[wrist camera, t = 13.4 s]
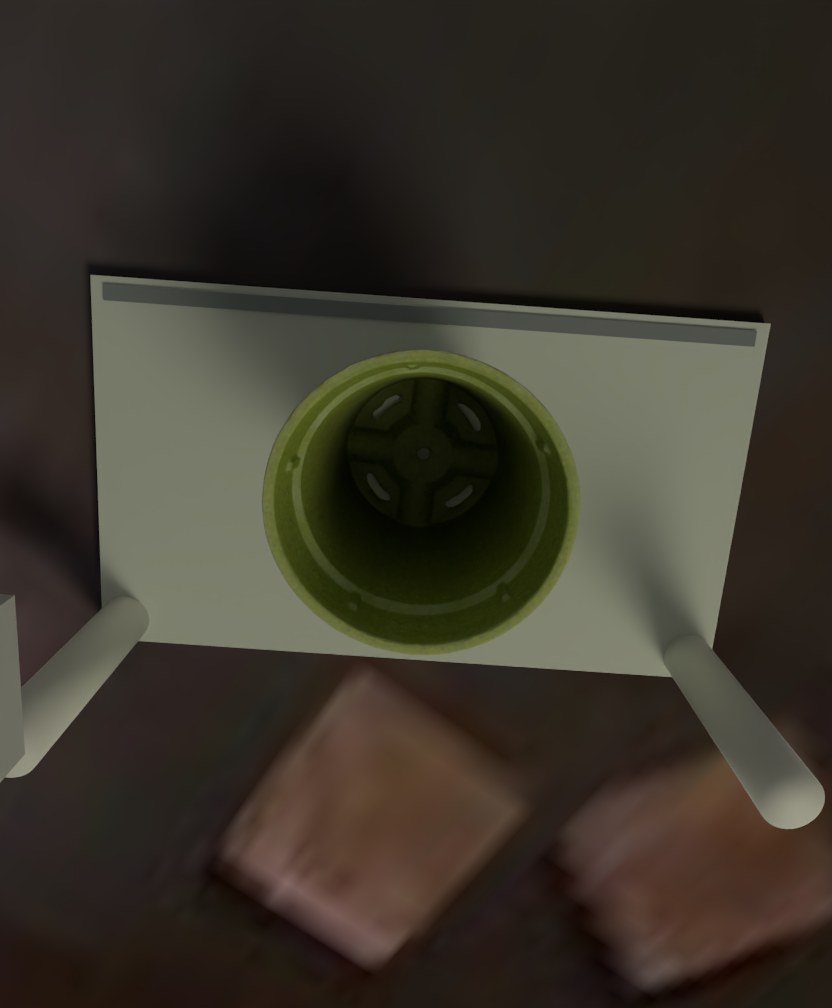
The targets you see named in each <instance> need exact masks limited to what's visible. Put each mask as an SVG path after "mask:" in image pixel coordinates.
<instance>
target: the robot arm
mask: <svg viewBox="0 0 832 1008" xmlns="http://www.w3.org/2000/svg"><path fill="white" fill-rule="evenodd" d="M24 755H25V745H24V730H23V715H22V700H21V684H20V669H19V654H18V639H17V624H16V609H15V595H2V594H0V782H1V781H2V780H3V779H4V777H5V776H6V775H7V774H8V773H9V772H10V771H11V770H12V768H13V767H14V766H15V765H16V764H17V763H18V762H19V760H20V759H21V758H22V757H23V756H24Z"/></svg>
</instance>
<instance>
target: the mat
mask: <svg viewBox="0 0 832 1008" xmlns="http://www.w3.org/2000/svg"><path fill="white" fill-rule="evenodd" d="M90 277H91V306H92V335H93V365H94V394H95V423H96V452H97V481H98V511H99V540H100V569H101V598H102V609H101V610H100V611H99V612H98V613H97V614H96V615H95V616H94V617H93V618H92V619H91V620H89V621H88V622H87V623H86V624H85V625H84V626H83V627H82V628H81V629H80V630H79V631H78V632H77V633H76V634H75V635H74V636H73V637H72V638H71V639H70V640H69V641H68V642H67V643H66V644H65V645H64V646H63V647H62V648H61V649H60V650H59V651H58V652H57V653H56V654H55V655H54V656H53V657H52V658H51V659H50V660H49V661H48V662H47V663H46V664H45V665H44V666H43V667H42V668H41V669H40V670H39V671H38V672H37V673H36V674H35V675H34V676H33V677H32V678H31V679H29V680H28V681H27V682H26V683H25V684H24V685H23V686H22V687H21V700H22V715H23V730H24V745H25V755H24V756H23V757H22V758H21V759H20V760H19V762H18V763H17V764H16V765H15V766H14V767H13V768H12V770H11V771H10V772H9V773H8V774H7V775H6V776H5V777H8V778H14V777H20V776H23V775H26V774H27V773H29V772H30V771H32V770H33V769H34V768H35V766H36V765H37V764H38V763H39V761H40V760H41V759H42V758H43V757H44V755H45V754H46V753H47V752H48V750H49V749H50V748H51V747H52V746H53V744H54V743H55V742H56V741H57V739H58V738H59V737H60V736H61V735H62V733H63V732H64V731H65V730H66V728H67V727H68V726H69V725H70V724H71V722H72V721H73V720H74V719H75V717H76V716H77V715H78V714H79V713H80V711H81V710H82V709H83V708H84V706H85V705H86V704H87V703H88V702H89V700H90V699H91V698H92V697H93V695H94V694H95V693H96V692H97V691H98V689H99V688H100V687H101V686H102V684H103V683H104V682H105V681H106V680H107V678H108V677H109V676H110V675H111V673H112V672H113V671H114V670H115V669H116V667H117V666H118V665H119V664H120V662H121V661H122V660H123V659H124V658H125V656H126V655H127V654H128V653H129V651H130V650H131V649H132V648H133V647H134V645H135V644H136V643H137V642H138V641H147V642H162V643H177V644H192V645H206V646H221V647H236V648H251V649H265V650H280V651H295V652H310V653H325V654H339V655H354V656H369V657H384V658H398V659H413V660H428V661H443V662H457V663H472V664H487V665H502V666H516V667H531V668H546V669H561V670H576V671H590V672H605V673H620V674H635V675H649V676H664V677H673V679H674V680H675V682H676V683H677V685H678V687H679V688H680V690H681V691H682V693H683V694H684V696H685V697H686V699H687V700H688V702H689V704H690V705H691V707H692V708H693V710H694V711H695V713H696V714H697V716H698V717H699V719H700V721H701V722H702V724H703V725H704V727H705V728H706V730H707V731H708V733H709V734H710V736H711V738H712V739H713V741H714V742H715V744H716V745H717V747H718V748H719V750H720V751H721V753H722V755H723V756H724V758H725V759H726V761H727V762H728V764H729V765H730V767H731V768H732V770H733V772H734V773H735V775H736V776H737V778H738V779H739V781H740V782H741V784H742V785H743V787H744V789H745V790H746V792H747V793H748V795H749V796H750V798H751V799H752V801H753V802H754V804H755V806H756V807H757V809H758V810H759V812H760V813H761V815H762V816H763V818H764V819H765V820H766V821H767V822H768V823H770V824H771V825H773V826H775V827H778V828H783V829H794V828H799V827H802V826H804V825H806V824H808V823H810V822H811V821H812V820H814V819H815V818H816V817H817V816H818V814H819V813H820V812H821V810H822V808H823V805H824V801H825V794H824V790H823V787H822V785H821V784H820V782H819V781H818V780H817V779H816V778H815V776H814V775H813V774H812V773H811V771H810V770H809V769H808V768H807V766H806V765H805V764H804V763H803V761H802V760H801V759H800V758H799V756H798V755H797V754H796V753H795V752H794V750H793V749H792V748H791V747H790V745H789V744H788V743H787V742H786V740H785V739H784V738H783V737H782V735H781V734H780V733H779V732H778V730H777V729H776V728H775V727H774V726H773V724H772V723H771V722H770V721H769V719H768V718H767V717H766V716H765V714H764V713H763V712H762V711H761V709H760V708H759V707H758V706H757V705H756V703H755V702H754V701H753V700H752V698H751V697H750V696H749V695H748V693H747V692H746V691H745V690H744V688H743V687H742V686H741V685H740V683H739V682H738V681H737V680H736V679H735V677H734V676H733V675H732V674H731V672H730V671H729V670H728V669H727V667H726V666H725V665H724V664H723V662H722V661H721V660H720V659H719V658H718V656H717V655H716V654H715V653H714V651H713V650H712V647H713V641H714V636H715V630H716V625H717V619H718V614H719V608H720V603H721V597H722V591H723V586H724V580H725V575H726V569H727V564H728V558H729V553H730V547H731V541H732V536H733V530H734V525H735V519H736V514H737V508H738V502H739V497H740V491H741V486H742V480H743V475H744V469H745V464H746V458H747V452H748V447H749V441H750V436H751V430H752V425H753V419H754V413H755V408H756V402H757V397H758V391H759V386H760V380H761V375H762V369H763V363H764V358H765V352H766V347H767V341H768V336H769V330H770V325H771V324H768V323H754V322H740V321H727V320H713V319H699V318H685V317H671V316H657V315H643V314H629V313H615V312H601V311H588V310H574V309H560V308H546V307H532V306H518V305H504V304H490V303H476V302H463V301H449V300H435V299H421V298H407V297H393V296H379V295H365V294H351V293H337V292H324V291H310V290H296V289H282V288H268V287H254V286H240V285H226V284H212V283H199V282H185V281H171V280H157V279H143V278H129V277H115V276H101V275H90ZM412 349H428V350H439V351H445V352H451V353H456V354H461V355H465V356H468V357H471V358H474V359H477V360H479V361H482V362H484V363H486V364H488V365H491V366H493V367H495V368H497V369H499V370H500V371H502V372H504V373H506V374H507V375H509V376H510V377H512V378H513V379H515V380H516V381H518V382H519V383H520V384H522V385H523V386H524V387H526V388H527V389H528V390H529V391H530V392H531V393H532V394H533V395H534V396H535V397H536V398H537V399H538V400H539V401H540V402H541V403H542V404H543V405H544V406H545V408H546V409H547V410H548V411H549V413H550V414H551V415H552V417H553V418H554V420H555V421H556V423H557V424H558V426H559V427H560V429H561V431H562V433H563V435H564V437H565V439H566V441H567V443H568V446H569V448H570V450H571V453H572V456H573V459H574V462H575V465H576V470H577V474H578V479H579V485H580V516H579V523H578V530H577V535H576V539H575V543H574V547H573V550H572V553H571V555H570V558H569V561H568V563H567V565H566V567H565V570H564V571H563V573H562V575H561V577H560V578H559V580H558V582H557V583H556V585H555V586H554V588H553V589H552V591H551V592H550V593H549V595H548V596H547V597H546V599H545V600H544V601H543V602H542V603H541V605H540V606H539V607H538V608H537V609H536V610H535V611H534V612H533V613H531V614H530V615H529V616H528V617H527V618H525V619H524V620H523V621H522V622H520V623H519V624H518V625H516V626H515V627H513V628H512V629H510V630H509V631H507V632H506V633H504V634H503V635H501V636H499V637H498V638H496V639H493V640H491V641H489V642H487V643H484V644H482V645H479V646H476V647H473V648H470V649H466V650H462V651H457V652H453V653H448V654H439V655H408V654H401V653H397V652H392V651H387V650H382V649H378V648H375V647H372V646H369V645H367V644H363V643H361V642H359V641H357V640H355V639H352V638H351V637H348V636H346V635H344V634H343V633H341V632H339V631H337V630H335V629H334V628H332V627H331V626H329V625H328V624H327V623H326V622H324V621H323V620H322V619H320V618H319V617H318V616H317V615H315V614H314V613H313V612H312V611H311V610H310V609H309V608H308V607H307V606H306V605H305V604H304V603H303V602H302V601H301V600H300V599H299V597H298V596H297V595H296V594H295V592H294V591H293V590H292V589H291V588H290V586H289V585H288V583H287V582H286V580H285V579H284V577H283V575H282V574H281V572H280V570H279V568H278V566H277V564H276V562H275V560H274V558H273V555H272V553H271V550H270V547H269V544H268V541H267V537H266V534H265V529H264V522H263V512H262V491H263V482H264V476H265V470H266V466H267V462H268V459H269V455H270V452H271V449H272V446H273V444H274V442H275V440H276V438H277V435H278V434H279V432H280V430H281V429H282V427H283V425H284V423H285V422H286V420H287V419H288V417H289V416H290V415H291V413H292V412H293V410H294V409H295V408H296V407H297V406H298V404H299V403H300V402H301V401H302V400H303V399H304V398H305V397H306V396H307V395H308V394H309V393H310V392H311V391H312V390H313V389H314V388H316V387H317V386H318V385H319V384H321V383H322V382H323V381H324V380H326V379H327V378H329V377H330V376H332V375H333V374H335V373H336V372H338V371H340V370H341V369H343V368H345V367H347V366H349V365H351V364H353V363H355V362H358V361H360V360H363V359H366V358H369V357H372V356H375V355H379V354H383V353H387V352H393V351H401V350H412ZM399 402H401V397H400V396H398V395H395V396H393V397H390V398H388V399H386V401H385V402H384V404H383V405H382V406H381V407H379V408H378V409H377V410H376V411H374V413H373V419H377V420H378V419H379V418H380V417H381V415H382V414H384V413H385V412H386V411H387V410H388V409H390V408H391V407H393V406H394V405H395V404H398V403H399ZM457 407H458V408H459V409H460V410H461V412H462V413H463V414H464V415H465V416H466V418H467V419H468V421H469V422H470V424H471V426H472V428H473V430H474V431H476V432H478V431H479V430H480V429H481V425H480V421H479V420H478V418H477V416H476V415H475V414H474V413H473V411H472V410H470V409H469V408H468V407H466V406H465V405H464V404H459V403H458V404H457ZM429 456H430V451H429V450H428V449H427V448H421V449H420V450H418V452H417V457H418V458H419V459H420V460H421V461H422V460H426V459H427V458H428V457H429ZM367 481H368V483H369V485H370V487H371V488H372V489H373V490H374V492H375V493H376V495H377V496H378V497H379V498H381V499H383V500H390V498H391V497H390V495H389V493H388V492H386V491H385V490H384V489H383V488H382V487H381V486H380V484H379V483H378V481H377V480H376V478H375V476H374V475H373V474H372V473H368V474H367ZM472 491H473V490H472V485H469V486H468V487H467V488H465V489H464V491H462V492H461V493H460V494H459V495H457V496H455V497H453V498H452V499H450V500H449V501H447V502H446V503H445V505H446V506H447V507H454V506H456V505H458V504H460V503H461V502H462V501H463V500H464V499H466V498H467V497H468V496H469V495H470V494H471V493H472Z"/></svg>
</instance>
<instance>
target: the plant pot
mask: <svg viewBox="0 0 832 1008" xmlns="http://www.w3.org/2000/svg"><path fill="white" fill-rule="evenodd" d="M395 395H398V396H400V397H401V402H399V403H398V404H395V405H394V406H393V407H391V408H390V409H388V410H387V411H386V412H385V413H384V414H382V415H381V417H380V418H379V419H378V420H377V419H373V413H374V411H376V410H377V409H378V408H379V407H381V406H382V405H383V404H384V402H385V401H386V399H388V398H390V397H393V396H395ZM458 403H459V404H464V405H465V406H466V407H468V408H469V409H470V410H472V411H473V413H474V414H475V415H476V416H477V418H478V420H479V421H480V425H481V429H480V430H479V431H478V432H476V431H474V430H473V428H472V426H471V424H470V422H469V421H468V419H467V418H466V416H465V415H464V414H463V413H462V412H461V410H460V409H459V408H458V407H457V404H458ZM421 448H427V449H428V450H429V451H430V456H429V457H428V458H427V459H426V460H422V461H421V460H420V459H419V458H418V457H417V452H418V450H420V449H421ZM368 473H372V474H373V475H374V476H375V478H376V480H377V481H378V483H379V484H380V486H381V487H382V488H383V489H384V490H385V491H386V492H388V493H389V495H390V497H391V498H390V500H383V499H381V498H379V497H378V496H377V495H376V493H375V492H374V490H373V489H372V488H371V487H370V485H369V483H368V481H367V474H368ZM469 485H472V490H473V491H472V493H471V494H470V495H469V496H468V497H467V498H466V499H464V500H463V501H462V502H461V503H460V504H458V505H456V506H454V507H447V506H446V505H445V503H446V502H447V501H449V500H450V499H452V498H453V497H455V496H457V495H459V494H460V493H461V492H462V491H464V489H465V488H467V487H468V486H469ZM262 512H263V522H264V529H265V534H266V537H267V541H268V544H269V547H270V550H271V553H272V555H273V558H274V560H275V562H276V564H277V566H278V568H279V570H280V572H281V574H282V575H283V577H284V579H285V580H286V582H287V583H288V585H289V586H290V588H291V589H292V590H293V591H294V592H295V594H296V595H297V596H298V597H299V599H300V600H301V601H302V602H303V603H304V604H305V605H306V606H307V607H308V608H309V609H310V610H311V611H312V612H313V613H314V614H315V615H317V616H318V617H319V618H320V619H322V620H323V621H324V622H326V623H327V624H328V625H329V626H331V627H332V628H334V629H335V630H337V631H339V632H341V633H343V634H344V635H346V636H348V637H351V638H352V639H355V640H357V641H359V642H361V643H363V644H367V645H369V646H372V647H375V648H378V649H382V650H387V651H392V652H397V653H401V654H408V655H439V654H448V653H453V652H457V651H462V650H466V649H470V648H473V647H476V646H479V645H482V644H484V643H487V642H489V641H491V640H493V639H496V638H498V637H499V636H501V635H503V634H504V633H506V632H507V631H509V630H510V629H512V628H513V627H515V626H516V625H518V624H519V623H520V622H522V621H523V620H524V619H525V618H527V617H528V616H529V615H530V614H531V613H533V612H534V611H535V610H536V609H537V608H538V607H539V606H540V605H541V603H542V602H543V601H544V600H545V599H546V597H547V596H548V595H549V593H550V592H551V591H552V589H553V588H554V586H555V585H556V583H557V582H558V580H559V578H560V577H561V575H562V573H563V571H564V570H565V567H566V565H567V563H568V561H569V558H570V555H571V553H572V550H573V547H574V543H575V539H576V535H577V530H578V523H579V516H580V485H579V479H578V474H577V470H576V465H575V462H574V459H573V456H572V453H571V450H570V448H569V446H568V443H567V441H566V439H565V437H564V435H563V433H562V431H561V429H560V427H559V426H558V424H557V423H556V421H555V420H554V418H553V417H552V415H551V414H550V413H549V411H548V410H547V409H546V408H545V406H544V405H543V404H542V403H541V402H540V401H539V400H538V399H537V398H536V397H535V396H534V395H533V394H532V393H531V392H530V391H529V390H528V389H527V388H526V387H524V386H523V385H522V384H520V383H519V382H518V381H516V380H515V379H513V378H512V377H510V376H509V375H507V374H506V373H504V372H502V371H500V370H499V369H497V368H495V367H493V366H491V365H488V364H486V363H484V362H482V361H479V360H477V359H474V358H471V357H468V356H465V355H461V354H456V353H451V352H445V351H439V350H428V349H412V350H401V351H393V352H387V353H383V354H379V355H375V356H372V357H369V358H366V359H363V360H360V361H358V362H355V363H353V364H351V365H349V366H347V367H345V368H343V369H341V370H340V371H338V372H336V373H335V374H333V375H332V376H330V377H329V378H327V379H326V380H324V381H323V382H322V383H321V384H319V385H318V386H317V387H316V388H314V389H313V390H312V391H311V392H310V393H309V394H308V395H307V396H306V397H305V398H304V399H303V400H302V401H301V402H300V403H299V404H298V406H297V407H296V408H295V409H294V410H293V412H292V413H291V415H290V416H289V417H288V419H287V420H286V422H285V423H284V425H283V427H282V429H281V430H280V432H279V434H278V435H277V438H276V440H275V442H274V444H273V446H272V449H271V452H270V455H269V459H268V462H267V466H266V470H265V476H264V482H263V491H262Z"/></svg>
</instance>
